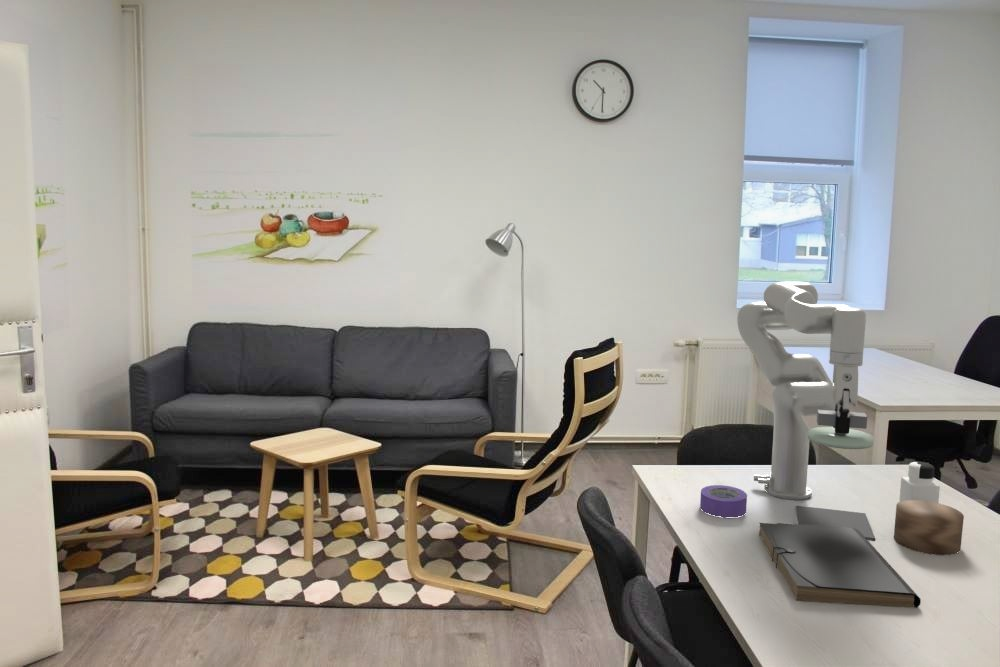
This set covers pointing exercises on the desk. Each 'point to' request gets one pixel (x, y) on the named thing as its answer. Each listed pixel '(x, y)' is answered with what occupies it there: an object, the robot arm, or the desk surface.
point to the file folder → (834, 566)
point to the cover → (841, 440)
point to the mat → (835, 519)
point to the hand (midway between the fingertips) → (840, 429)
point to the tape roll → (723, 501)
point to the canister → (928, 527)
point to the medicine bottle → (919, 483)
